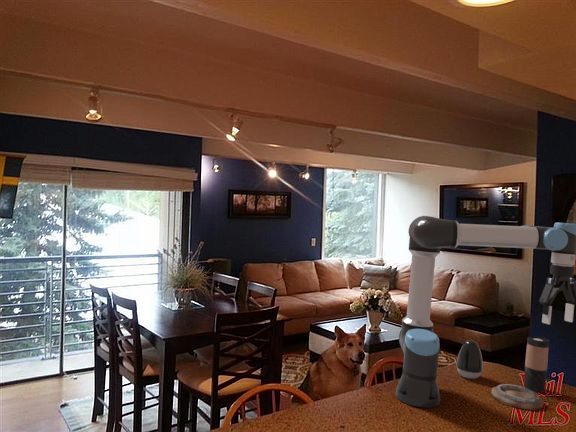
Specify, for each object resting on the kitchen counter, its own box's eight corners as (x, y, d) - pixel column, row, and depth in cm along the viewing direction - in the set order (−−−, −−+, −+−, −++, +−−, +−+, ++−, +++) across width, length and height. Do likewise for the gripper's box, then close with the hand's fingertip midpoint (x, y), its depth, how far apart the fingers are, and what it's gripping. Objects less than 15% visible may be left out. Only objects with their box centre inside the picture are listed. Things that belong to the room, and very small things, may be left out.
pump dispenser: (463, 370, 196) (466, 335, 196) (486, 378, 188) (489, 341, 188) (450, 374, 190) (453, 338, 189) (474, 383, 182) (477, 345, 181)
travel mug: (548, 394, 176) (552, 342, 175) (526, 391, 178) (530, 340, 177) (541, 386, 184) (545, 337, 183) (520, 383, 185) (524, 334, 185)
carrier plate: (495, 404, 163) (495, 396, 163) (488, 386, 179) (488, 379, 179) (548, 413, 158) (549, 405, 158) (536, 394, 174) (537, 387, 174)
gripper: (551, 266, 159) (546, 327, 159) (592, 266, 171) (587, 323, 171) (531, 263, 165) (526, 321, 166) (572, 263, 177) (567, 318, 178)
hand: (557, 322), depth 169 cm, fingers open, 13 cm apart
